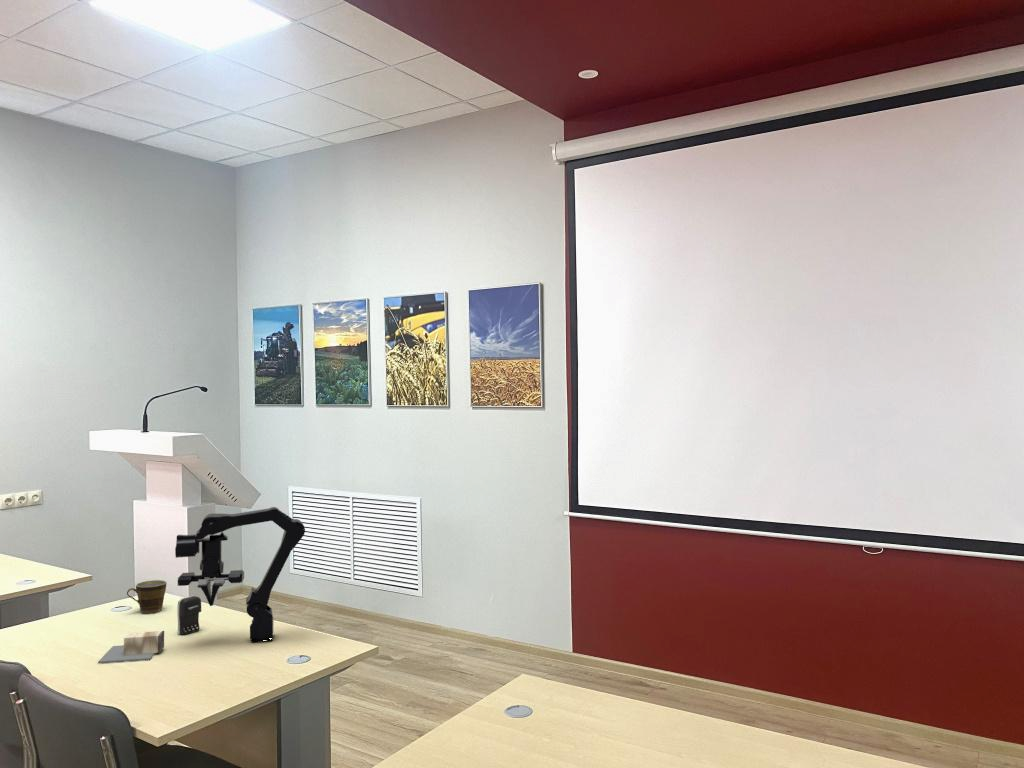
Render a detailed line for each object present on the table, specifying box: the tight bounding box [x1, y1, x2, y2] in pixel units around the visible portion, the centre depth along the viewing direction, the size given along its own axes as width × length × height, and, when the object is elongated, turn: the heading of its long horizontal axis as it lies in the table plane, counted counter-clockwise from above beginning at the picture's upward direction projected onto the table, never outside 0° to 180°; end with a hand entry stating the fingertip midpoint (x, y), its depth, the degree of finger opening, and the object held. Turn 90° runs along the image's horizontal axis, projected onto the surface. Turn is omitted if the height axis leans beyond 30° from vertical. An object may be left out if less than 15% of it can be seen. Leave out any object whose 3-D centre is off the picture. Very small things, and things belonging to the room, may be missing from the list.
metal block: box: [123, 630, 165, 655], centre depth 228 cm, size 5×5×10 cm
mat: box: [97, 644, 156, 664], centre depth 227 cm, size 14×14×1 cm
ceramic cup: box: [126, 579, 167, 615], centre depth 271 cm, size 13×10×10 cm
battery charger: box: [177, 595, 202, 635], centre depth 248 cm, size 7×4×11 cm, turn 147°
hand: (211, 605), depth 236 cm, fingers closed
